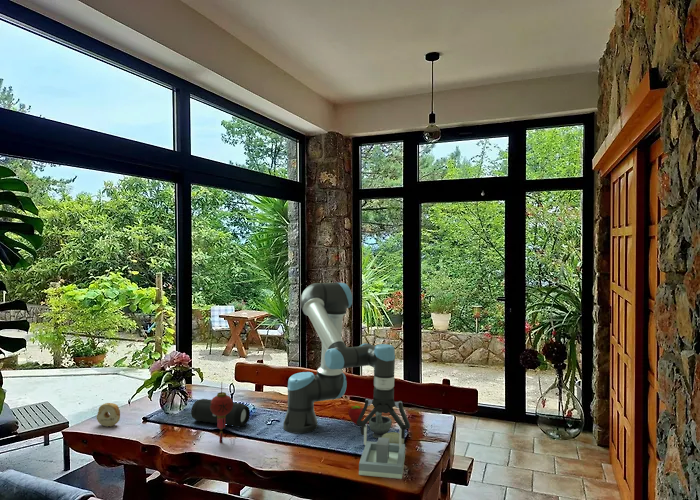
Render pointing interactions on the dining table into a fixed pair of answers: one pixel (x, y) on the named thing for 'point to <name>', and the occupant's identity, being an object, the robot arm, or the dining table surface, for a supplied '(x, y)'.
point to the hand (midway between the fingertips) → (382, 445)
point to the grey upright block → (382, 450)
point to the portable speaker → (203, 413)
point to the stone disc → (104, 416)
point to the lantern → (221, 409)
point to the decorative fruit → (355, 413)
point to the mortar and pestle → (379, 425)
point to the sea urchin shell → (393, 437)
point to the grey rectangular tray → (389, 469)
